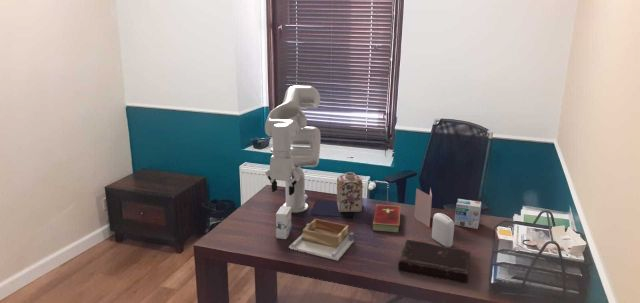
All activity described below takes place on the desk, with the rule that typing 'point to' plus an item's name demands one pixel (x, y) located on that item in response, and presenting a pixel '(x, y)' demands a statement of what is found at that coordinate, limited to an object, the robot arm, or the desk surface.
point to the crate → (325, 233)
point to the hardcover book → (386, 218)
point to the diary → (435, 261)
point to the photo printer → (443, 229)
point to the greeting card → (423, 207)
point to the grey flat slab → (322, 247)
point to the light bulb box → (467, 213)
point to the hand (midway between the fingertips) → (283, 192)
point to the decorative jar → (349, 192)
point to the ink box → (283, 222)
